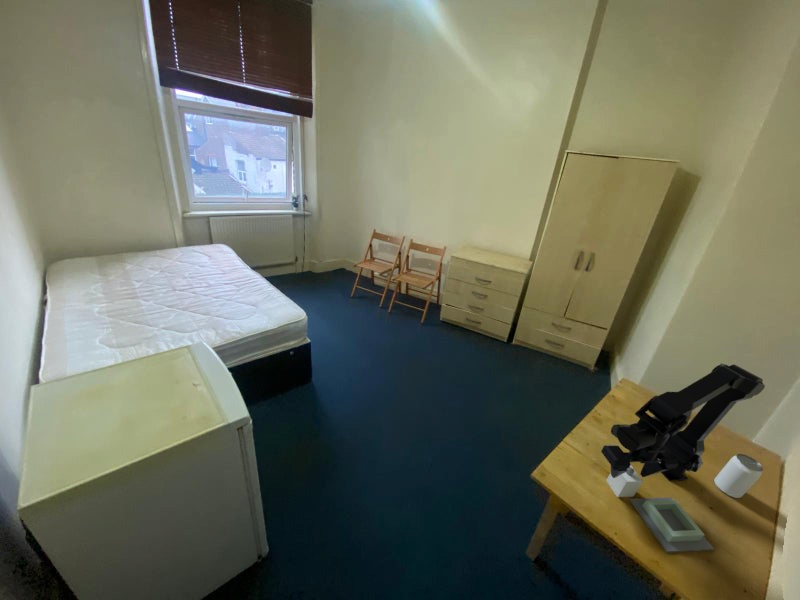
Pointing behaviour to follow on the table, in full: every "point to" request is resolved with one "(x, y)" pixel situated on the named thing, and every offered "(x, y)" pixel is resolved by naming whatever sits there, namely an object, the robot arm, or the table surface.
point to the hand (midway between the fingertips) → (627, 476)
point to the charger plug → (625, 483)
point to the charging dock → (671, 525)
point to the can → (738, 475)
